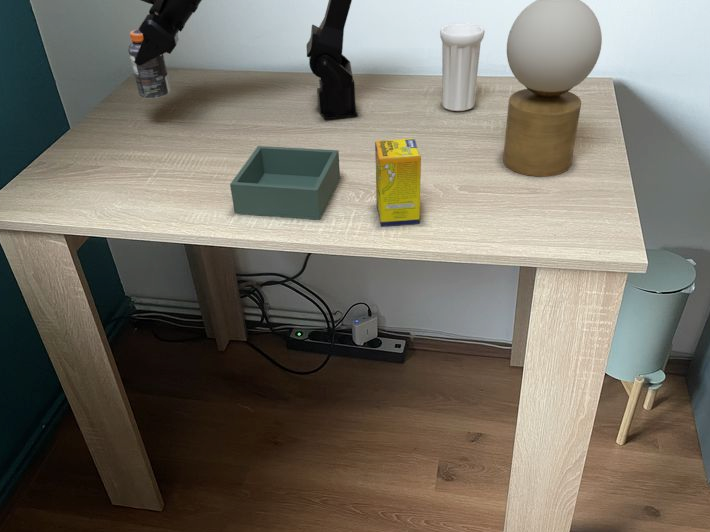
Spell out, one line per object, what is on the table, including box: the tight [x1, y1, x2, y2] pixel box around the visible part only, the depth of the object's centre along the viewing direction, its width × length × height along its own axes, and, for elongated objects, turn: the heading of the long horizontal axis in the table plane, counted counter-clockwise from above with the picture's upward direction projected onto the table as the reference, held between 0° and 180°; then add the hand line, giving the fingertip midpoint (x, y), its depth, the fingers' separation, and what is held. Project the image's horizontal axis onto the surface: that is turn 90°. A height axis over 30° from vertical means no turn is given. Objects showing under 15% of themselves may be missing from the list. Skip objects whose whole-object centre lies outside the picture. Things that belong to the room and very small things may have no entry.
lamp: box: [502, 0, 603, 177], centre depth 115 cm, size 15×14×25 cm
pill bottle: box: [127, 28, 172, 100], centre depth 133 cm, size 6×6×11 cm
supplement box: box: [374, 137, 422, 228], centre depth 106 cm, size 6×6×11 cm
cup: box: [439, 22, 486, 112], centre depth 137 cm, size 8×8×14 cm
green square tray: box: [229, 145, 341, 221], centre depth 114 cm, size 14×14×5 cm
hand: (139, 58), depth 132 cm, fingers closed on pill bottle, 6 cm apart
